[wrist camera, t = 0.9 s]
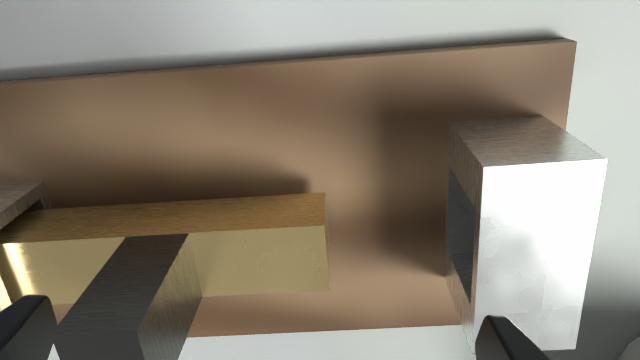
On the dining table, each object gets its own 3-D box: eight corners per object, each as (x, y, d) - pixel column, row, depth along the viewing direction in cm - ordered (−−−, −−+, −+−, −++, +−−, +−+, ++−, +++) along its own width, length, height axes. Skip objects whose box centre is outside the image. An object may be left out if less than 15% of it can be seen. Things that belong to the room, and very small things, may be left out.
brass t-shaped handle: (330, 250, 22) (329, 401, 15) (-132, 276, 24) (-362, 428, 16) (325, 192, 21) (321, 321, 13) (-161, 222, 22) (-425, 357, 15)
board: (533, 308, 26) (540, 321, 25) (-75, 337, 28) (-89, 350, 27) (565, 38, 20) (576, 41, 19) (-197, 95, 22) (-220, 101, 21)
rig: (526, 273, 24) (575, 348, 19) (-103, 305, 25) (-203, 383, 21) (543, 115, 21) (607, 159, 16) (-176, 164, 22) (-315, 217, 18)
